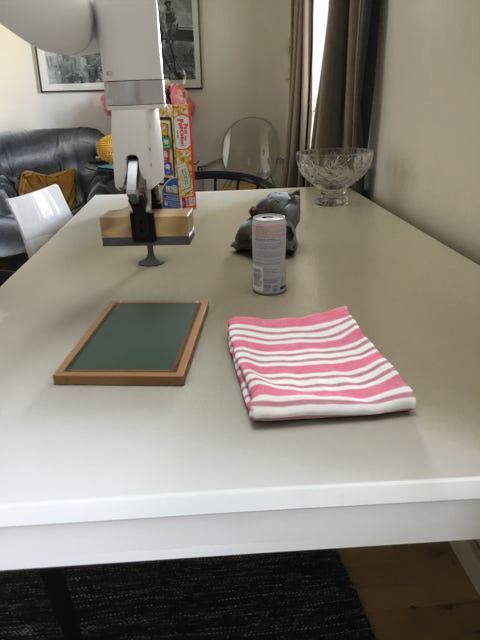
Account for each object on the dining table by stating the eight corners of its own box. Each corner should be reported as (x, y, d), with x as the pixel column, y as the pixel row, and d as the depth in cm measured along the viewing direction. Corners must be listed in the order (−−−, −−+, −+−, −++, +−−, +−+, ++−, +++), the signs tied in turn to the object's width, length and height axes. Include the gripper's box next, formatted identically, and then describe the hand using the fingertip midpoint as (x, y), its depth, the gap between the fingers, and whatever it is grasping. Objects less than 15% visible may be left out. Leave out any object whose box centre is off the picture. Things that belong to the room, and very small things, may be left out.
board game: (197, 208, 156) (191, 103, 145) (180, 212, 151) (173, 104, 141) (151, 200, 169) (142, 103, 158) (134, 203, 165) (124, 104, 154)
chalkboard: (54, 384, 65) (52, 375, 64) (112, 308, 87) (111, 300, 86) (183, 385, 64) (183, 376, 63) (209, 307, 86) (208, 300, 85)
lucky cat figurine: (221, 247, 117) (237, 183, 117) (271, 263, 122) (286, 201, 122) (252, 242, 103) (269, 169, 104) (307, 260, 108) (323, 190, 109)
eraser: (102, 246, 77) (99, 217, 76) (112, 237, 82) (109, 210, 80) (189, 245, 76) (187, 215, 75) (194, 235, 81) (192, 208, 80)
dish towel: (347, 326, 78) (348, 302, 77) (418, 415, 56) (422, 385, 55) (224, 335, 76) (223, 311, 75) (250, 432, 55) (249, 401, 53)
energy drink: (281, 283, 95) (281, 212, 91) (289, 294, 90) (290, 219, 86) (250, 286, 94) (248, 214, 90) (256, 296, 90) (255, 221, 85)
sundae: (139, 269, 105) (131, 187, 99) (130, 260, 110) (122, 182, 105) (173, 264, 107) (167, 184, 101) (163, 255, 113) (156, 179, 107)
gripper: (123, 96, 80) (136, 223, 87) (85, 99, 64) (105, 254, 71) (175, 94, 80) (185, 222, 87) (150, 97, 64) (164, 253, 71)
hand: (149, 235), depth 79 cm, fingers closed on eraser, 5 cm apart
